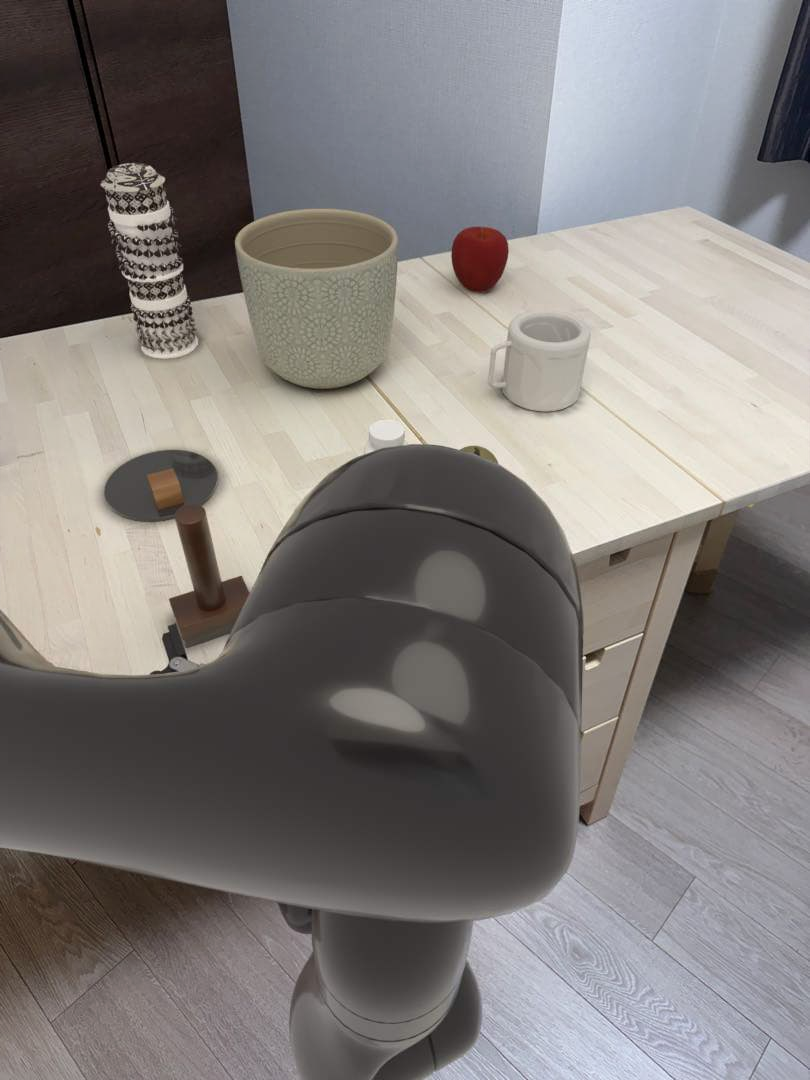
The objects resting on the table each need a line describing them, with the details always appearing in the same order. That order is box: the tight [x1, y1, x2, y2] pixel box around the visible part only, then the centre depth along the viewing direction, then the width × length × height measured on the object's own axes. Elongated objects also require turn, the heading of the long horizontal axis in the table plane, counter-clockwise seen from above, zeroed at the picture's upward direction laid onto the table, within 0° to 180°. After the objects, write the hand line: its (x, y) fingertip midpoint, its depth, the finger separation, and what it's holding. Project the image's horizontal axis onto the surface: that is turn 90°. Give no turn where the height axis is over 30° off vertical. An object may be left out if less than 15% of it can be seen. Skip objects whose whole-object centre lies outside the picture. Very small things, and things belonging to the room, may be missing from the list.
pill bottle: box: [363, 418, 409, 455], centre depth 85 cm, size 5×5×9 cm
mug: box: [487, 309, 592, 412], centre depth 100 cm, size 14×11×10 cm
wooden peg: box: [168, 504, 250, 648], centre depth 68 cm, size 4×7×14 cm, turn 116°
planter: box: [234, 208, 399, 390], centre depth 102 cm, size 21×21×19 cm
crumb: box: [147, 468, 184, 510], centre depth 84 cm, size 3×3×3 cm
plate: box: [103, 449, 219, 523], centre depth 88 cm, size 13×13×1 cm
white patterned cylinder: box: [100, 162, 199, 360], centre depth 104 cm, size 9×9×25 cm
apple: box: [450, 226, 510, 293], centre depth 125 cm, size 10×10×10 cm
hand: (223, 614), depth 63 cm, fingers open, 8 cm apart
